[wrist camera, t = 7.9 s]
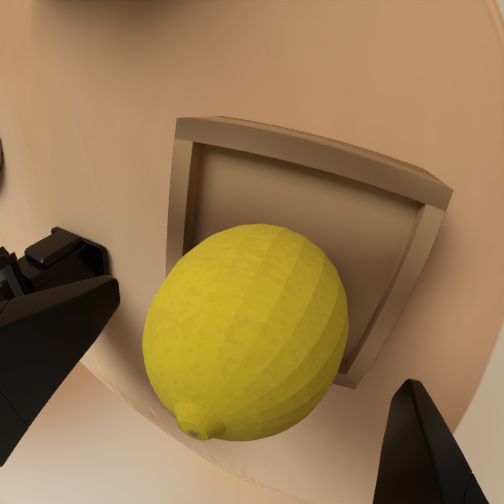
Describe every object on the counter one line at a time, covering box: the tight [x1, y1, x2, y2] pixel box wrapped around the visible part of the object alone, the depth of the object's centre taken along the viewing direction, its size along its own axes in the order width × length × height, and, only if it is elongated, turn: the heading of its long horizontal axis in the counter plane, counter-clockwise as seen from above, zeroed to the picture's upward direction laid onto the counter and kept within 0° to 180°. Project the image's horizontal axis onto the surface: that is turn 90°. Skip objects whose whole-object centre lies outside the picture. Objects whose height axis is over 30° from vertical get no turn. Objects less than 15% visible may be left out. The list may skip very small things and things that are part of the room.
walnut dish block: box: [166, 116, 453, 389], centre depth 13 cm, size 10×10×4 cm
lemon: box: [142, 224, 349, 441], centre depth 9 cm, size 6×6×8 cm
